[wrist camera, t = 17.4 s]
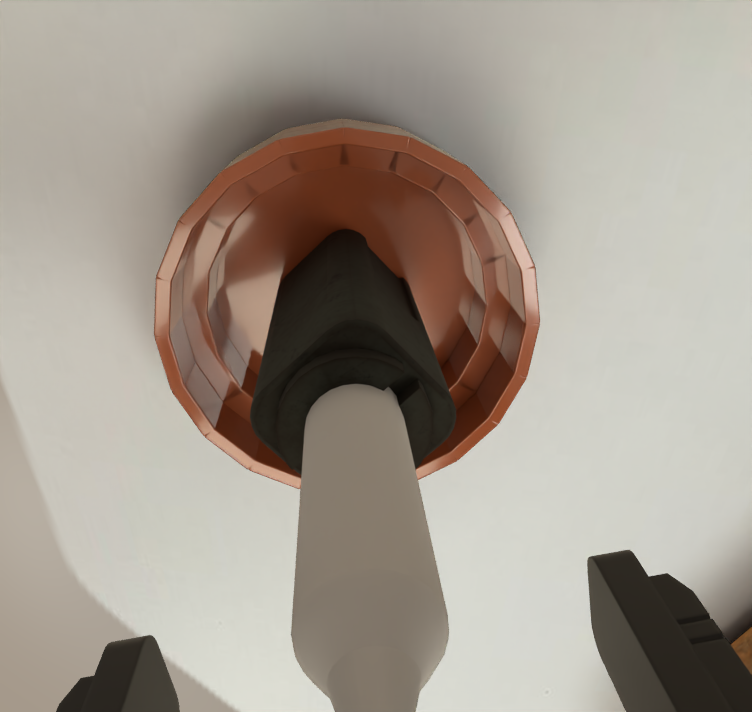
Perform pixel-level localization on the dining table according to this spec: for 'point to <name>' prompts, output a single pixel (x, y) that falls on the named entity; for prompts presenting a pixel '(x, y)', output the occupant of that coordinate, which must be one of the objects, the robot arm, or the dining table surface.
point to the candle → (357, 472)
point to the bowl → (384, 237)
